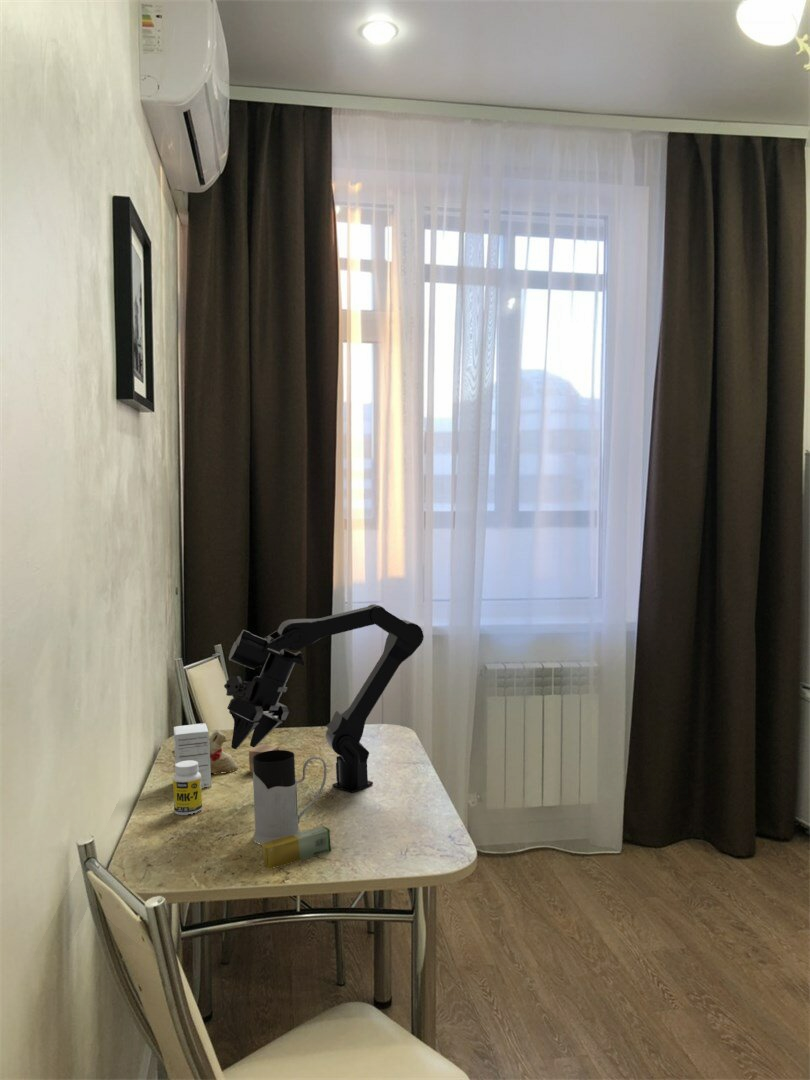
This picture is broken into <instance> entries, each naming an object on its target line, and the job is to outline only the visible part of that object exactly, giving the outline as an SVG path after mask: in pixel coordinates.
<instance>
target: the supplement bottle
mask: <svg viewBox="0 0 810 1080" xmlns="http://www.w3.org/2000/svg"><path fill="white" fill-rule="evenodd" d="M198 770H199V766H198V762H197V761H193V760H188V761H182V762H178V763H176V764H175V763H174V773H175V774H174V775H173V778H172V785H173V786H172V787H173V788H172V789H173V812H174V813H175V814H176V815H178V816H189V815H188V814H191V815H194V814H193V813H195V814H197V813H196V812H198V811H199V810H201V811H202V809H203V793H202V789H203V788H201V774H200V773H199V772H198ZM199 812H200V811H199ZM199 812H198V813H199Z"/></svg>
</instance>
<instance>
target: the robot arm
mask: <svg viewBox="0 0 810 1080" xmlns="http://www.w3.org/2000/svg"><path fill="white" fill-rule="evenodd" d="M373 625H376V626H377V627H379V628H380V629H382V630H383V631H385V632H387V634H388V635H387V637H386V638H385V644H384V648H383V652H382V654H381V656H380V657H379V659H378V661H377V662H376V664H375V666H374V667H373V669H372V671H371V672H370V673H369V675H368V677H367V678H366V680H365V682H364V683H363V685H362V686H361V688H360V689H359V691H358V693H357V695H356V696H355V698H354V700H353V701H352V703H351V704H350V706H349V707H348V708H347V709H346V710H345V711H343V712H342V713H340V712H339V711H338V710H336V711H335V712H334V715H333V716H332V719H331V720H330V722H329V723H327V724H326V725H325V727H326V728H327V730H326V732H325V739H326V743H327V744H328V746H329V747H330V748H331V749H332V750H333V752H335V754H337V755H338V756H336V763H335V775H336V782H334V783H332V784H331V785H332V787H333V788H336V789H339V790H342V791H347V792H348V793H349V792H350V793H355V792H357V791H360V790H363V789H365V788H367V787H371V786H372V785H373V784H374V782H373V781H372V780H371V781H370V780H368V779H369V778H368V777H369V775H368V759H369V755H370V752H369V750H367V748H366V747H365V746H364V745H363V744H362V743H361V739H362V737H363V735H364V729H365V725H366V721H367V719H368V718H369V716H370V714H371V712H372V711H373V709H374V707H375V705H376V704H377V703H378V701H379V699H380V697H382V695H383V693H384V692H385V690H386V688H387V686H388V685H389V683H390V681H391V680H392V679H393V677H394V675H395V674H396V672H397V670H398V669H399V667H400V665H401V664H402V663H404V662H405V661H406V660H407V659H408V658H410V657H411V656H412V655H413V654H414V653H415V652H416V651H417V649H419V647H420V646H421V645H422V643H423V641H424V631H423V629H422V627H421V626H419V625H418V624H417V623H414V622H412V621H410V620H406V619H401V618H399V617H397V616H395V615H394V614H393V613H390V612H389V611H387V610H386V609H385V608H384V607H383V606H381V605H379V604H370V605H368V606H364V607H360V608H357V609H353V610H348V611H345V612H340V613H336V614H335V613H334V614H332V615H328V616H323V617H319V618H296V619H294V618H292V619H291V618H290V619H286V620H284V621H283V622H281V624H280V625H279V627H278V628H277V630H275V631H274V632H271V633H270V634H269V635H267V636H265V637H260V636H258V635H256V634H253V633H251V632H250V631H248V630H245V629H242V630H241V633H240V634H239V635H238V636H237V639H236V640H235V641H234V642H233V644H232V646H231V649H230V652H229V654H228V655H229V656H228V660H229V661H232V662H233V663H236V664H239V665H241V666H243V667H246V668H248V669H251V670H256V668H260V667H262V666H263V667H262V670H261V672H260V675H259V676H258V675H255V676H254V677H253V678H252V681H243V680H242V678H241V676H238V675H237V676H234V675H230V676H229V678H228V680H226V683H224V685H223V687H224V689H226V697H227V696H228V697H229V696H230V697H231V696H233V697H234V698H231V699H230V701H229V703H228V706H227V708H226V709H227V710H229V711H228V713H229V714H230V715H231V717H232V719H233V731H232V739H231V745H230V746H231V748H232V749H233V750H237V749H238V748H239V747H240V746H241V744H243V742H245V740H246V739H247V738H248V736H249V735H250V734H251V733H252V732H253V733H252V735H251V739H250V743H249V746H250V747H252V748H255V747H257V746H259V745H260V744H259V743H260V742H262V741H263V740H264V739H265V738H266V737H267V736H268V735H269V734H270V733H271V732H273V731H274V729H276V728H277V727H279V725H280V724H282V723H283V721H286V720H287V717H288V715H289V713H290V711H289V708H288V706H287V705H285V704H283V703H280V702H279V701H280V698H281V696H282V694H283V693H286V692H287V690H288V687H287V686H286V685H287V682H288V680H289V678H290V676H291V673H292V671H293V669H294V666H295V665H296V664H298V665H300V666H302V667H304V666H306V662H305V661H304V658H303V652H301V651H300V650H301V649H304V648H305V647H308V646H311V645H312V644H315V643H316V642H318V641H319V640H321V639H323V638H325V637H330V636H332V635H334V636H335V635H337V634H341V633H344V632H349V631H354V630H356V629H361V628H365V627H369V626H373ZM287 649H288V650H287ZM279 650H280V651H279ZM289 650H290V651H289ZM292 651H297V652H295V653H294V652H292ZM242 696H243V697H242Z"/></svg>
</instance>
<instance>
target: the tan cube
mask: <svg viewBox="0 0 810 1080" xmlns="http://www.w3.org/2000/svg"><path fill="white" fill-rule="evenodd" d="M279 748H280V747H279V746H277V745H269V744H268V745H267V744H258V745H256V746H255V747H252V749H250V750H248V763H249V764H248V765H249V773H253V771H254V765H253V757H254V756H255V755H257V754H259V753H262V752H266V751H272V750H280V749H279Z"/></svg>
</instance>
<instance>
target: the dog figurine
mask: <svg viewBox="0 0 810 1080" xmlns="http://www.w3.org/2000/svg"><path fill="white" fill-rule="evenodd" d="M226 739H227V736H226V735H225V734H224V733H222V732H220V731H219V730H218V729H216V730H215V731H213V733H212V734H211V735H210V736H209V746H210V769H211V773H221V772H230V771H233V770H236V769H238V770H239V768H238V764H237V763H236V761H235V759H234V758H233V756H232V755H231V754H230V753H227V752H224V751H223V749H222V745H223V743H224V742H225V741H226ZM236 771H237V770H236ZM233 772H234V771H233ZM230 773H231V772H230Z"/></svg>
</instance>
